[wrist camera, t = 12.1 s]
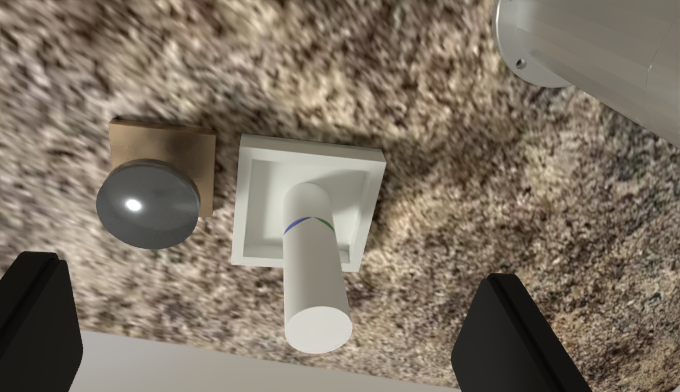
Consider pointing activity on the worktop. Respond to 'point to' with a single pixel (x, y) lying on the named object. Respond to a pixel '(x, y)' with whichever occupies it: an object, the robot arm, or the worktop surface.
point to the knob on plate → (157, 182)
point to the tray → (294, 168)
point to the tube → (312, 273)
